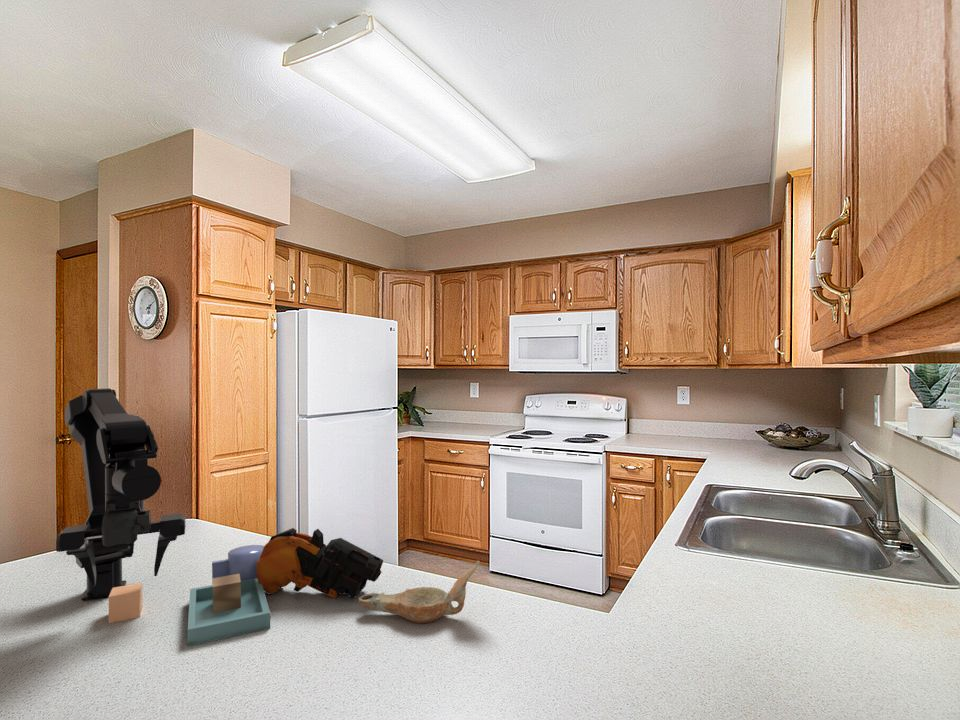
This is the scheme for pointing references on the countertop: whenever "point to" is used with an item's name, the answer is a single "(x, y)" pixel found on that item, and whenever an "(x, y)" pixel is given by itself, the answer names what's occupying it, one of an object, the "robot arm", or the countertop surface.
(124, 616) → the block terracotta
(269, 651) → the countertop surface
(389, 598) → the oil lamp
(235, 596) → the block walnut
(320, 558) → the tool
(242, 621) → the tray
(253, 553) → the mug
